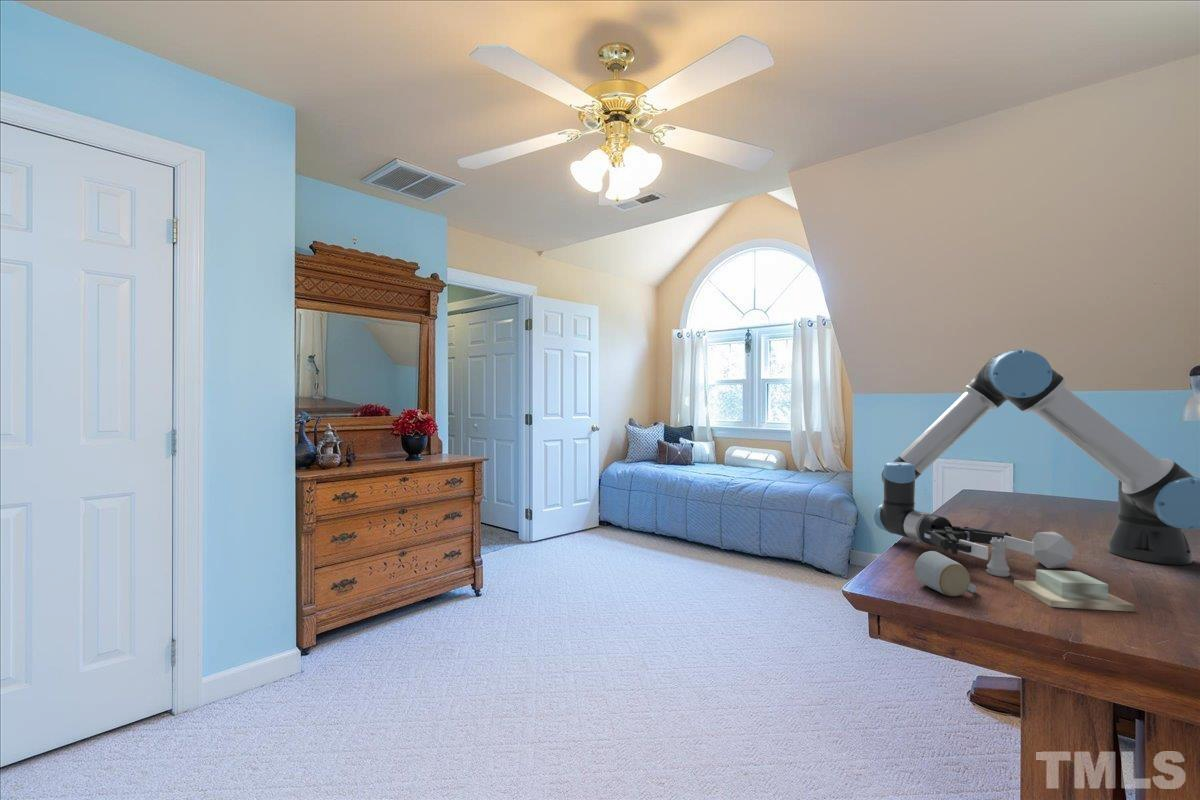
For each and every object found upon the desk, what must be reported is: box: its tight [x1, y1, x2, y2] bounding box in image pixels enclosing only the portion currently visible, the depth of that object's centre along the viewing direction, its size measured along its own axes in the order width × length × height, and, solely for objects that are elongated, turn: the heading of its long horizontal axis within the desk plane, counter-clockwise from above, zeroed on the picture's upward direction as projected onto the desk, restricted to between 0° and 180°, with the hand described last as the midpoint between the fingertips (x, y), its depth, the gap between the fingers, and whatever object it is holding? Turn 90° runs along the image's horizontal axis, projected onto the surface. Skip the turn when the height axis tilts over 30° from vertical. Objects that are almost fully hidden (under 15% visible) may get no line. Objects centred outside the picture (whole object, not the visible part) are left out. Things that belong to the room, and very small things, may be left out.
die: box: [1031, 531, 1076, 569], centre depth 133 cm, size 8×9×10 cm
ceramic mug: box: [914, 550, 977, 597], centre depth 115 cm, size 10×8×7 cm
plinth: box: [1013, 569, 1135, 612], centre depth 112 cm, size 14×12×4 cm
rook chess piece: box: [985, 537, 1011, 578], centre depth 127 cm, size 4×4×8 cm
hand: (1010, 551), depth 124 cm, fingers open, 13 cm apart
